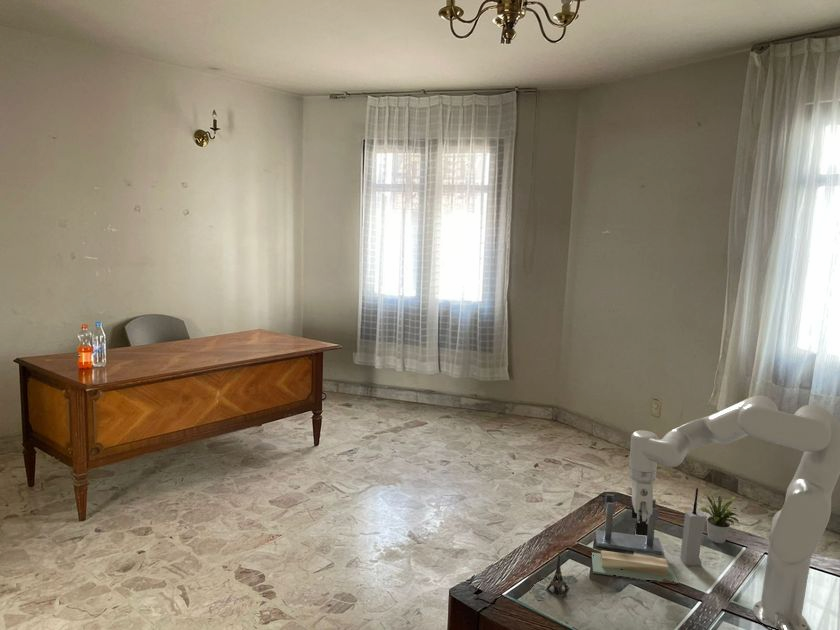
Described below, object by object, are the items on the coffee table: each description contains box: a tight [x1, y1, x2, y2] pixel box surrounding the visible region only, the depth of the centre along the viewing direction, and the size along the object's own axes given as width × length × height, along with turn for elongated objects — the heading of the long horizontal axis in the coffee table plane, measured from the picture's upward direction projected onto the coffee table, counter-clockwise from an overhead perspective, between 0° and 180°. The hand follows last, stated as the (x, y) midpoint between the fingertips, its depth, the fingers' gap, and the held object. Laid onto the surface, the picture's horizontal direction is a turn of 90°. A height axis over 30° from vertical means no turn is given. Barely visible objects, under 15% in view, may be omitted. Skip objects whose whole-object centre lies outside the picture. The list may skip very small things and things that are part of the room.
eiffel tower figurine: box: [530, 550, 579, 601], centre depth 172 cm, size 15×10×13 cm
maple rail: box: [600, 550, 668, 576], centre depth 182 cm, size 4×19×3 cm, turn 78°
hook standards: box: [595, 493, 664, 556], centre depth 195 cm, size 8×20×15 cm, turn 77°
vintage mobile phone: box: [680, 487, 708, 567], centre depth 184 cm, size 4×5×25 cm
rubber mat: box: [591, 551, 679, 584], centre depth 183 cm, size 10×24×1 cm, turn 77°
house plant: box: [693, 492, 742, 544], centre depth 198 cm, size 14×14×16 cm
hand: (639, 526), depth 180 cm, fingers open, 9 cm apart
